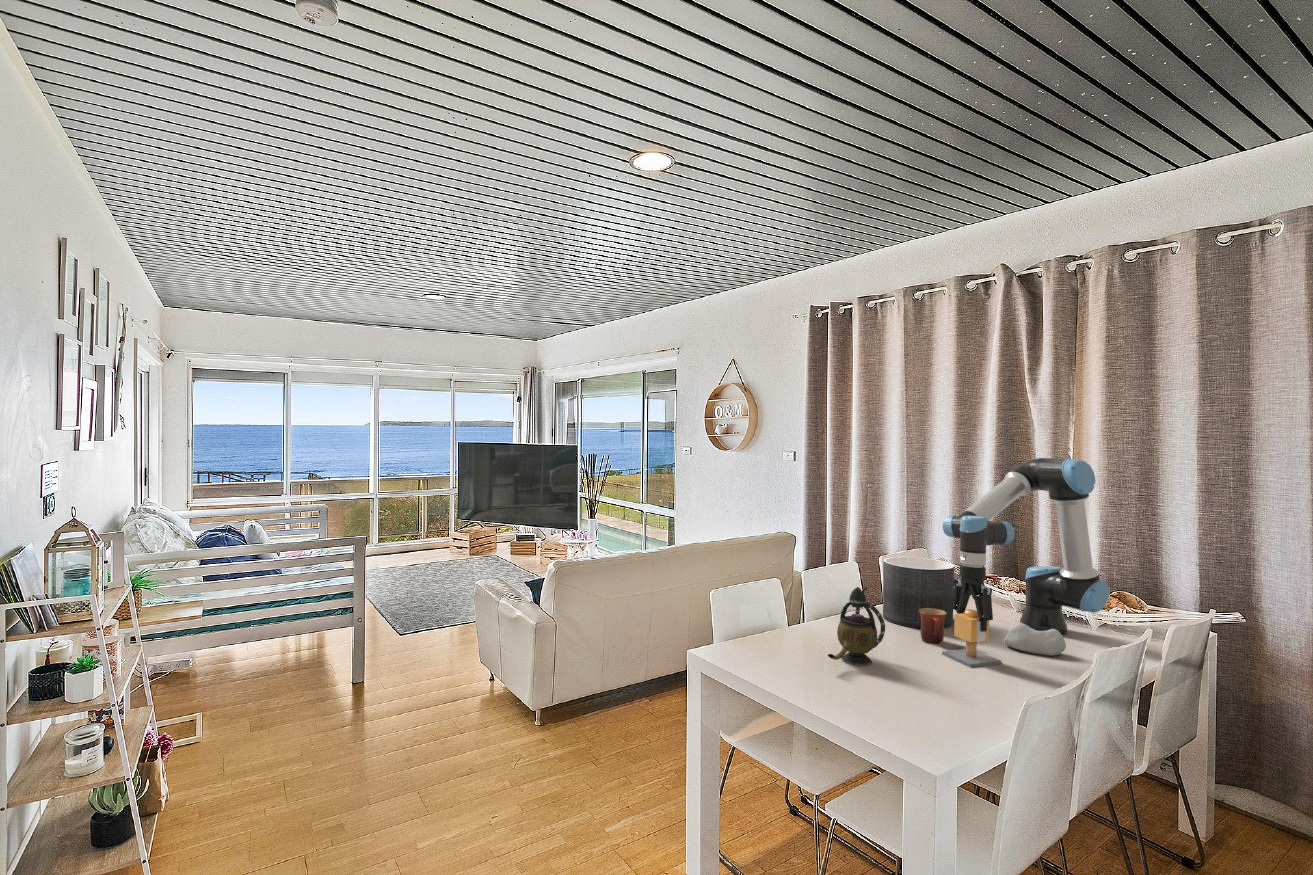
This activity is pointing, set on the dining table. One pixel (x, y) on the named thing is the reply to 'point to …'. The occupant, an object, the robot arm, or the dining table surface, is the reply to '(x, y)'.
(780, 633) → the dining table surface
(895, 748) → the dining table surface
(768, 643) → the dining table surface
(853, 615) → the teapot
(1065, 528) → the robot arm
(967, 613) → the orange cube with dome
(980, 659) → the plate
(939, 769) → the dining table surface
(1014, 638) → the decorative stone
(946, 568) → the planter
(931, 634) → the mug
